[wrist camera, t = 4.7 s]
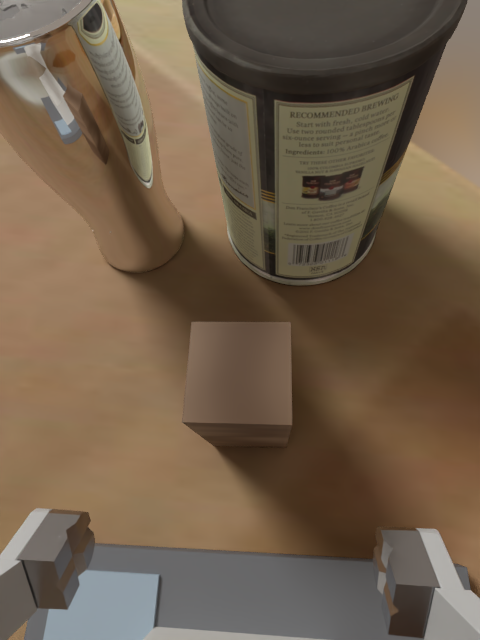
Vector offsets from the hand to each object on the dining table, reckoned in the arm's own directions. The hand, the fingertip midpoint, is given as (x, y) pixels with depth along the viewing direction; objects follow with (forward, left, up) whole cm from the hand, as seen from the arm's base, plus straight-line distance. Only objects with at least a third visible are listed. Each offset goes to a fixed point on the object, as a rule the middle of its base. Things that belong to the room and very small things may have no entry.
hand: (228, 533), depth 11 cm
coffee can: (+3, +18, -10) cm, 21 cm away
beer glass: (-8, +17, -10) cm, 22 cm away
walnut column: (0, +5, -10) cm, 11 cm away
